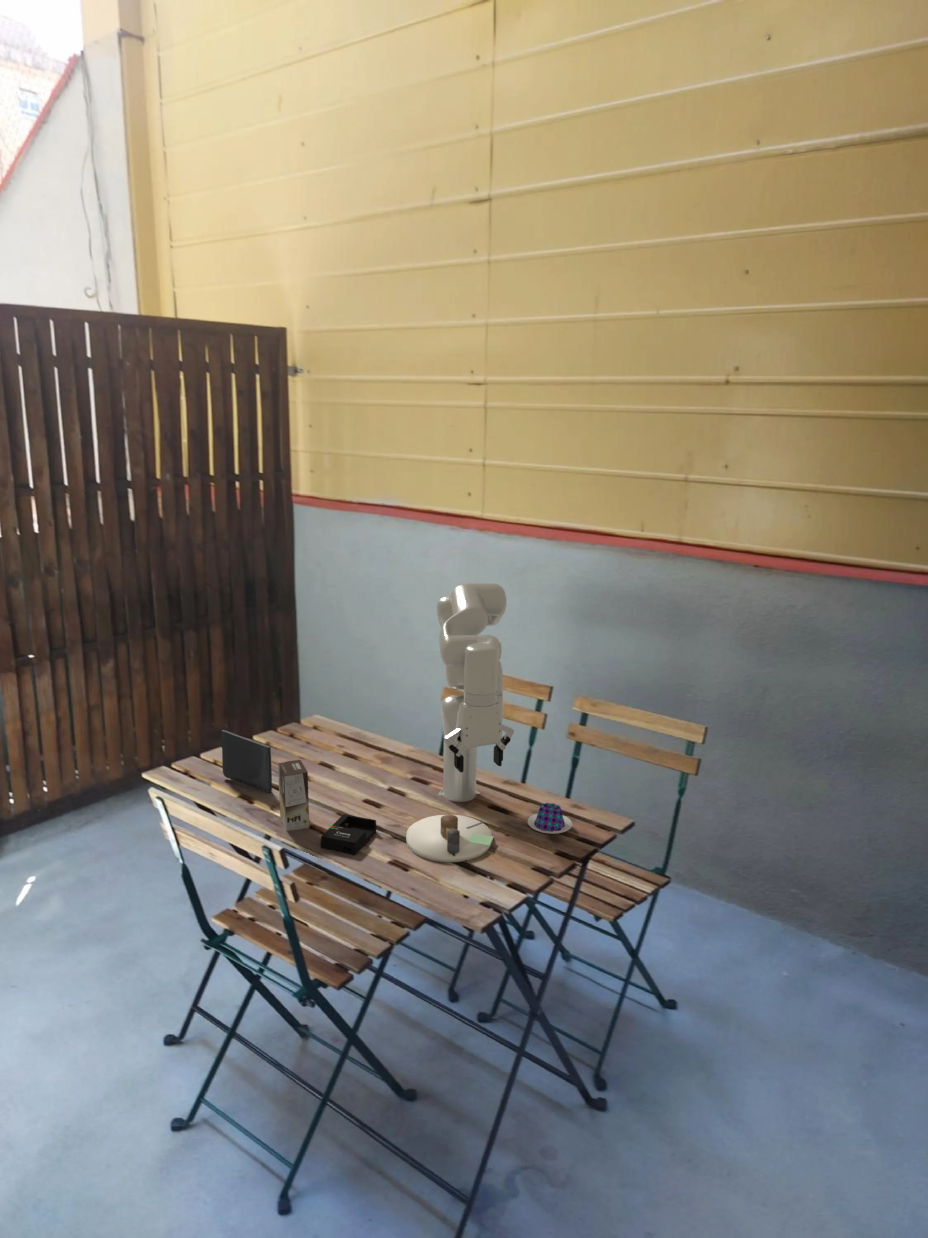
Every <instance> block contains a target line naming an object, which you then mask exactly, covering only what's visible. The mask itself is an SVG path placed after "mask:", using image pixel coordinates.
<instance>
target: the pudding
mask: <svg viewBox="0 0 928 1238" xmlns="http://www.w3.org/2000/svg"><path fill="white" fill-rule="evenodd" d="M527 824H528V826H529V827H530V828H532V829H533V830H534V831H537V832H540V833H544V834H561V833H565V832H567V831H569V830H570V829H572V827H573V822H572V820H571V819H570V818H569V817H567V816H566V815H564V814H563V810H562V808H561V806H560V805H558V804H556V803H552V802H551V803H550V802H546V803H543V804H541V805H540V806H539V809H538V812H537V813H534V814H531V815H530V816H529V817H528V818H527Z"/></svg>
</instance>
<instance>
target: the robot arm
mask: <svg viewBox="0 0 928 1238" xmlns="http://www.w3.org/2000/svg"><path fill="white" fill-rule="evenodd" d="M436 604H437V605H436V613H437V621H438V623H439V625H440V631H439V637H438V639H439V640H438V643H439V644H438V645H439V653H440V658H441V661H442V663H443V664H444V665H445V677H446V679H445V681H446V684H447V685H448V686H447V687H449V688H451V689H453V690H461V691H462V690H463V693H462V694H460V693H459V694H451V695H449V696H448V695H447V696H446V697H445V698H444V699H443V700H442V702H441V704H440V714H441V720H442V721H441V722H442V729H443V773H442V774H443V775H442V776H443V778H442V779H443V783H442V785H443V786H442V788H443V789H441V790H440V791H439V792H437V793H438V794H437V796H442V797H444V799H446V800H448V801H449V802H450V801H451V802H456V803H465V802H469V801H471V800H474V799H475V798H476V796H477V795H478V794H481V792H480V791H478V790H477V766H478V765H477V761H478V759H477V758H478V752H477V751H478V747H482V746H489V745H490V746H491V745H494V747H493V756H492V757H493V763H494V764H496V766H497V767H502V762H503V761H504V751H505V749H507V748H506V747H507V745H508V744H509V743H510V741H511V738H512V737H513V735H514V733H515V730H514V729H513V728H512V727H510V726H508V725H505V724H503V717H504V679H503V678H504V675H503V666H502V663H501V661H500V660H501V657H502V650H503V649H502V642H500V641H499V639H498V638H497V637H496V636H494V635H491V634H488V635H487V634H482V635H481V633H482V632H484V631H485V629H486V628H487V627H488V626H489V627H490V626H491V627H492V626H496V625H497V624H499V623H500V621H501V619H502V617H503V616H504V614H505V611H506V609H507V595H506V592H505V589H504V588H503V586H502V585H500V584H498V583H494V582H493V583H489V582H487V583H485V582H484V583H478V582H476V583H475V582H474V583H469V582H468V583H462V584H458V585H457V586H456V587H454V588H453V590H452V591H451V593H450V595H445V596H443V597H441V598H439V599H438V601H437V603H436ZM503 732H504V734H505V735H503Z"/></svg>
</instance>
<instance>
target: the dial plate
mask: <svg viewBox="0 0 928 1238" xmlns="http://www.w3.org/2000/svg"><path fill="white" fill-rule="evenodd" d="M444 815H445V814H438V815H431V816H428V817H424V818H421V819H419V820H417V821H416V822H414V823H412V824H411V825H410V826H409V827H408V829H407V831H406V833H405V834H406V838H405V839H406V840H405V841H406V842H405V843H406V845H407V847H408V849H409V850H410V851H411V852H412V853H413V854H415V855H417V856H419V858H420V857H421V858H423V859H425V858H426V859H425V860H428V861H432V862H437V863H438V862H440V863H459V862H460V863H461V862H466V861H465V860H467V861H470V860H473V859H476V858H478V857H481V856H482V855H484V854H485V853H487V852H488V851H489V849H490V848H491V846H492V843H493V839H494V838H495V836H493V835H492V831H491V829H490V828H489V827H488V826H487V825H486V824H485V823H483V822H482V821H480V820H478V819H475V818H472V817H469V816H465V815H458V814H453V815H454V816H456V817H457V818H458V830H459V831H460V841H459V852H458V853H449V852H448V851H447V837H445V836H442V835H441V817H442V816H444Z"/></svg>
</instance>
